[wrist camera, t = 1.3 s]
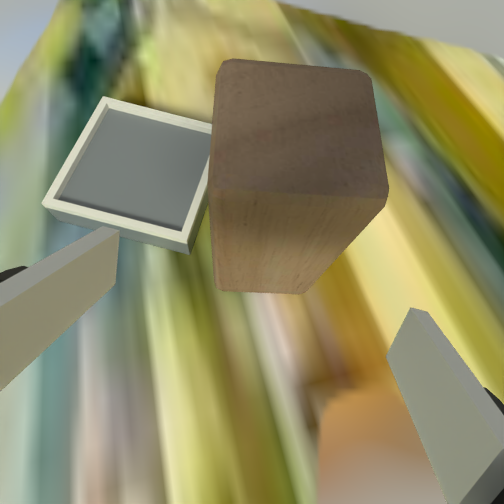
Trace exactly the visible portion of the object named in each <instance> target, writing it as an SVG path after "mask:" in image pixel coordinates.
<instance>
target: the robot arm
mask: <svg viewBox="0 0 504 504" xmlns="http://www.w3.org/2000/svg"><path fill="white" fill-rule="evenodd" d="M119 234H120V230H116V229H113V228H109V227H105V226H102V227H100V228H98V229H97V230H95V231H93V232H91V233H89V234H88V235H86V236H84V237H82V238H80V239H79V240H77V241H75V242H73V243H71V244H70V245H68V246H66V247H64V248H62V249H61V250H59V251H57V252H55V253H53V254H52V255H50V256H48V257H46V258H44V259H43V260H41V261H39V262H37V263H35V264H34V265H32V266H30V267H25V266H20V267H17V268H13V269H9V270H5V271H3V272H2V273H0V391H1V390H2V389H3V388H5V387H6V386H7V385H8V384H9V383H10V382H11V381H12V380H13V379H14V378H15V377H16V376H17V375H18V374H20V373H21V372H22V371H23V370H24V369H25V368H26V367H27V366H28V365H29V364H30V363H31V362H32V361H33V360H35V359H36V358H37V357H38V356H39V355H40V354H41V353H42V352H43V351H44V350H45V349H46V348H47V347H48V346H50V345H51V344H52V343H53V342H54V341H55V340H56V339H57V338H58V337H59V336H60V335H61V334H62V333H63V332H65V331H66V330H67V329H68V328H69V327H70V326H71V325H72V324H73V323H74V322H75V321H76V320H77V319H78V318H80V317H81V316H82V315H83V314H84V313H85V312H86V311H87V310H88V309H89V308H90V307H91V306H92V305H94V304H95V303H96V302H97V301H98V300H99V299H100V298H101V297H102V296H103V295H104V294H105V293H106V292H107V291H109V290H110V289H111V288H112V287H113V286H114V285H115V280H116V268H117V257H118V245H119ZM386 358H387V360H388V363H389V365H390V368H391V370H392V372H393V375H394V377H395V380H396V382H397V384H398V387H399V389H400V392H401V394H402V396H403V399H404V401H405V404H406V406H407V408H408V411H409V413H410V415H411V418H412V420H413V423H414V425H415V427H416V430H417V432H418V434H419V437H420V439H421V442H422V444H423V446H424V449H425V451H426V454H427V456H428V459H429V461H430V463H431V466H432V468H433V470H434V473H435V475H436V478H437V480H438V482H439V485H440V487H441V489H442V492H443V494H444V497H445V499H446V501H447V504H504V405H503V403H502V402H501V401H500V400H499V399H498V398H497V397H496V396H495V395H493V394H492V393H491V392H490V391H489V390H488V389H487V388H484V387H483V386H482V385H481V384H480V382H479V381H478V380H477V378H476V377H475V376H474V374H473V373H472V372H471V370H470V369H469V367H468V366H467V365H466V363H465V362H464V361H463V359H462V358H461V357H460V355H459V354H458V353H457V351H456V350H455V348H454V347H453V346H452V344H451V343H450V342H449V340H448V339H447V338H446V336H445V335H444V334H443V332H442V331H441V329H440V328H439V327H438V325H437V324H436V323H435V321H434V320H433V319H432V317H431V316H430V314H429V313H428V312H426V311H422V310H419V309H415V308H411V307H410V309H409V311H408V313H407V315H406V317H405V319H404V321H403V323H402V325H401V327H400V329H399V331H398V333H397V335H396V337H395V339H394V341H393V343H392V345H391V347H390V349H389V351H388V353H387V355H386Z"/></svg>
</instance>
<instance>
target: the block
mask: <svg viewBox="0 0 504 504" xmlns="http://www.w3.org/2000/svg"><path fill="white" fill-rule="evenodd" d="M207 187H208V202H209V216H210V230H211V244H212V258H213V272H214V282H215V285H216V288H218V289H220V290H222V291H234V292H258V293H283V294H301V293H304V292H306V291H307V290H308V289H309V288H310V287H311V286H312V285H313V284H314V282H315V281H316V280H317V279H318V278H319V277H320V276H321V275H322V274H323V273H324V272H325V271H326V269H327V268H328V267H329V266H330V265H331V264H332V263H333V262H334V261H335V260H336V259H337V258H338V256H339V255H340V254H341V253H342V252H343V251H344V250H345V249H346V248H347V247H348V246H349V244H350V243H351V242H352V241H353V240H354V239H355V238H356V237H357V236H358V235H359V234H360V233H361V231H362V230H363V229H364V228H365V227H366V226H367V225H368V224H369V223H370V222H371V221H372V220H373V218H374V217H375V216H376V215H377V214H378V213H379V212H380V211H381V210H382V209H383V208H384V207H385V204H386V200H387V197H388V192H389V185H388V179H387V173H386V167H385V160H384V154H383V148H382V142H381V136H380V130H379V124H378V117H377V111H376V105H375V99H374V93H373V87H372V81H371V78H370V77H369V76H368V75H367V74H366V73H364V72H362V71H360V70H351V69H340V68H329V67H318V66H308V65H297V64H286V63H275V62H265V61H254V60H243V59H229V60H226V61H223V63H222V65H221V66H220V69H219V71H218V73H217V75H216V84H215V96H214V108H213V120H212V132H211V145H210V157H209V169H208V181H207Z"/></svg>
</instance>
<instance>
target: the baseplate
mask: <svg viewBox="0 0 504 504" xmlns="http://www.w3.org/2000/svg"><path fill="white" fill-rule="evenodd" d="M211 132H212V124H209V123H205V122H202V121H198V120H194V119H190V118H186V117H182V116H178V115H174V114H170V113H166V112H162V111H159V110H155V109H151V108H147V107H143V106H139V105H135V104H131V103H127V102H123V101H119V100H115V99H112V98H108V97H104V96H103V97H102V99H101V101H100V102H99V104H98V106H97V108H96V109H95V111H94V113H93V115H92V116H91V118H90V120H89V121H88V123H87V125H86V127H85V128H84V130H83V132H82V134H81V135H80V137H79V139H78V141H77V142H76V144H75V146H74V148H73V149H72V151H71V153H70V154H69V156H68V158H67V160H66V161H65V163H64V165H63V167H62V168H61V170H60V172H59V174H58V175H57V177H56V179H55V180H54V182H53V184H52V186H51V187H50V189H49V191H48V193H47V194H46V196H45V198H44V200H43V201H42V204H43V205H44V206H45V207H46V208H47V209H48V210H49V211H50V212H51V213H52V214H53V215H54V216H55V217H56V218H57V219H58V220H59V221H62V222H66V223H69V224H73V225H77V226H81V227H85V228H89V229H92V230H97V229H98V228H100V227H102V226H105V227H109V228H113V229H116V230H120V234H119V237H123V238H127V239H131V240H135V241H139V242H142V243H146V244H150V245H154V246H158V247H162V248H166V249H169V250H173V251H177V252H181V253H185V254H189V255H190V253H191V250H192V247H193V245H194V242H195V239H196V236H197V233H198V230H199V227H200V224H201V221H202V218H203V215H204V213H205V210H206V207H207V204H208V187H207V181H208V169H209V157H210V145H211Z"/></svg>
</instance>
